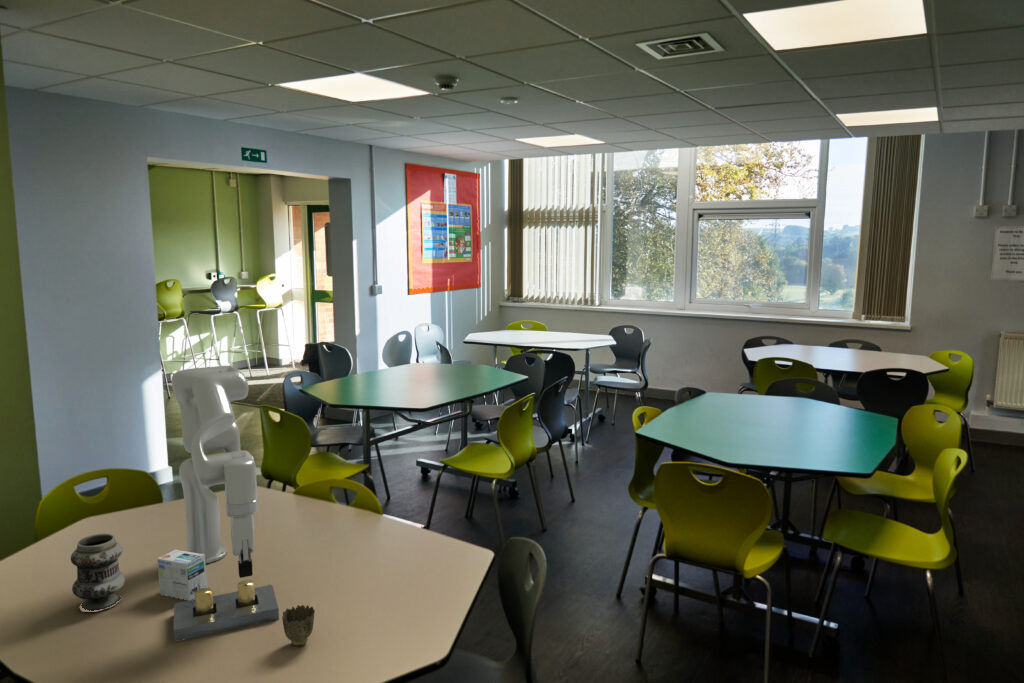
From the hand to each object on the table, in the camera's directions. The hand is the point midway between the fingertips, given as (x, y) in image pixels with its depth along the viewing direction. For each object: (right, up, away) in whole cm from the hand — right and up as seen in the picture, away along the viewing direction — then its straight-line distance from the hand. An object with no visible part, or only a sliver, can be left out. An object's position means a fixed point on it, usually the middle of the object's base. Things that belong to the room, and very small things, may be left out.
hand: (245, 575), depth 176 cm
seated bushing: (-9, -11, -3) cm, 14 cm away
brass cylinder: (0, -10, +1) cm, 10 cm away
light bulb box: (-22, -9, +12) cm, 27 cm away
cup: (+18, -12, -13) cm, 25 cm away
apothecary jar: (-41, -10, +6) cm, 43 cm away
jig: (-5, -10, -1) cm, 11 cm away
